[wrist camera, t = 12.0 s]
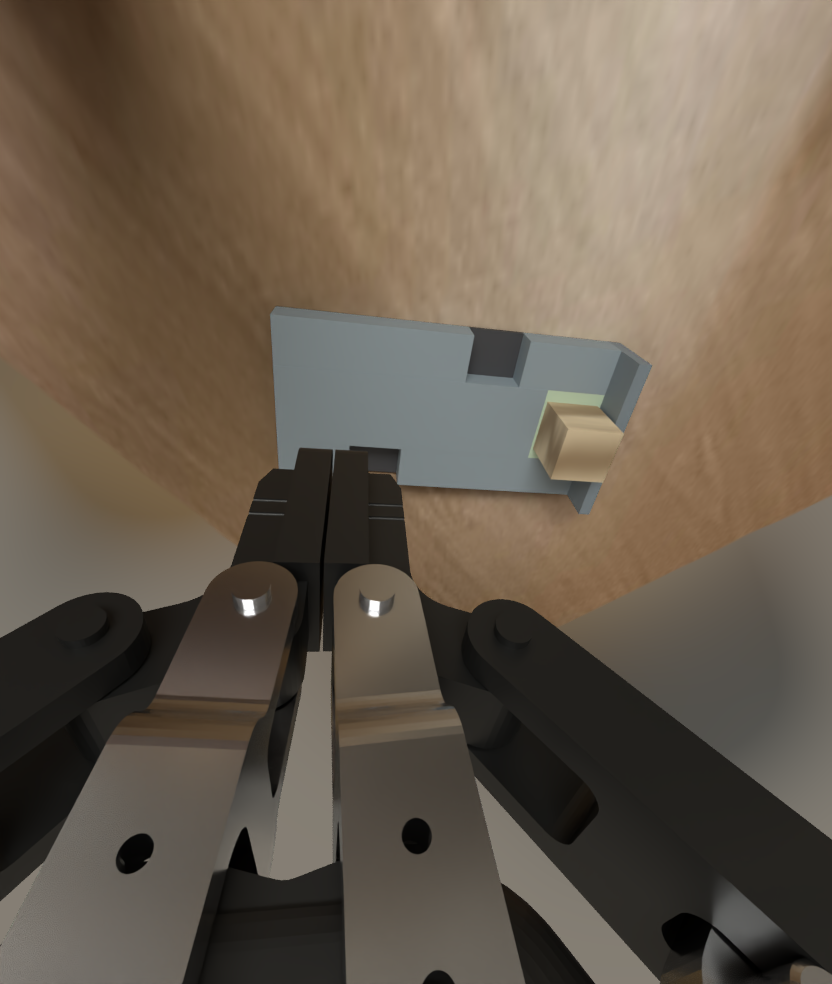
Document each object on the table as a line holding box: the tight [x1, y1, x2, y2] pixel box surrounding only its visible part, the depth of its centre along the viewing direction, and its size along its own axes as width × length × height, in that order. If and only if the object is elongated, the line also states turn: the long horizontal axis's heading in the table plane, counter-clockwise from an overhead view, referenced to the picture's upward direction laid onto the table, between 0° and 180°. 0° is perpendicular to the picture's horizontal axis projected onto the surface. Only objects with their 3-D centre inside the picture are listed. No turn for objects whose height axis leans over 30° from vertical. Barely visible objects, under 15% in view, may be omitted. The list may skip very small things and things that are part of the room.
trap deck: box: [270, 306, 652, 514], centre depth 38 cm, size 14×28×5 cm, turn 83°
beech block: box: [533, 402, 624, 483], centre depth 38 cm, size 4×4×5 cm
